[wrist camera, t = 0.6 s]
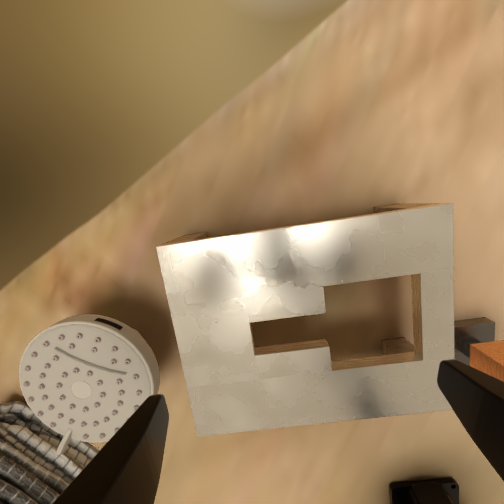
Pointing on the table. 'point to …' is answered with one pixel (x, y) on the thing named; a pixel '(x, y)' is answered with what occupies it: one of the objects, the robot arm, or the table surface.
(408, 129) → the table surface
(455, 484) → the robot arm
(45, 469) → the towel
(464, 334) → the peg
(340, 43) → the table surface
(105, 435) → the showerhead
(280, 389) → the keyhole stand
